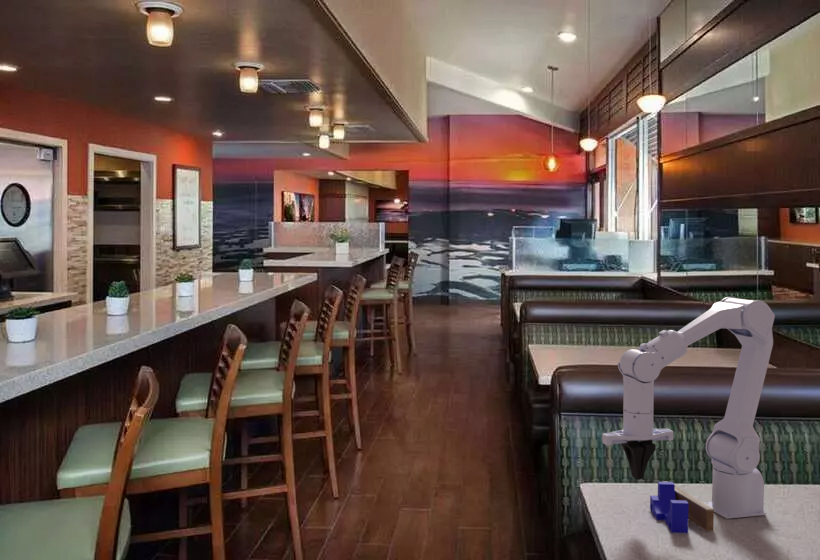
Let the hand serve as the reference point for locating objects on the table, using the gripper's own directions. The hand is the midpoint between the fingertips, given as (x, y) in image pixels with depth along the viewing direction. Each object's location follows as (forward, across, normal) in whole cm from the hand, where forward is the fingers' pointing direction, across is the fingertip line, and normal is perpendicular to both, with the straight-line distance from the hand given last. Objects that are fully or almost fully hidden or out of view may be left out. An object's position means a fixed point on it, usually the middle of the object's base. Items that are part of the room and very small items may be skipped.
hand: (637, 477), depth 143 cm
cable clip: (+9, -6, +2) cm, 11 cm away
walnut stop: (+9, -11, 0) cm, 14 cm away
